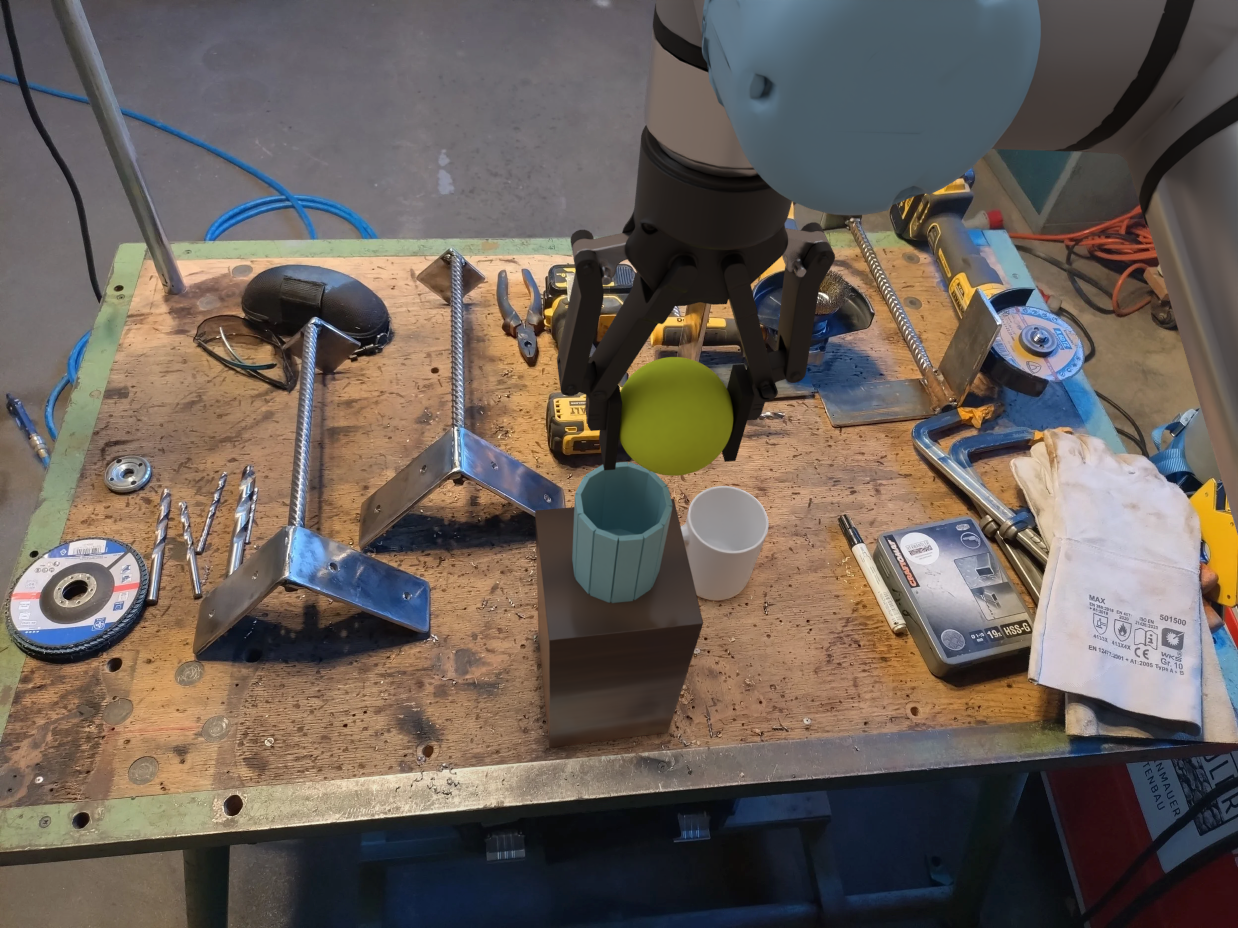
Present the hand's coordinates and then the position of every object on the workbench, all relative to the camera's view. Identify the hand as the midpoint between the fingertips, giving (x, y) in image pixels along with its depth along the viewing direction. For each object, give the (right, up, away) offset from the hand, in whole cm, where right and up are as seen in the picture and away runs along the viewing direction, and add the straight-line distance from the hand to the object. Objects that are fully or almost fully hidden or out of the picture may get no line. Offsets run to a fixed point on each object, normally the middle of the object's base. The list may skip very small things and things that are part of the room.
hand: (667, 449), depth 54 cm
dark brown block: (-5, -24, +29) cm, 38 cm away
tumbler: (-3, -9, +11) cm, 14 cm away
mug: (+6, -14, +39) cm, 41 cm away
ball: (0, 0, 0) cm, 0 cm away
